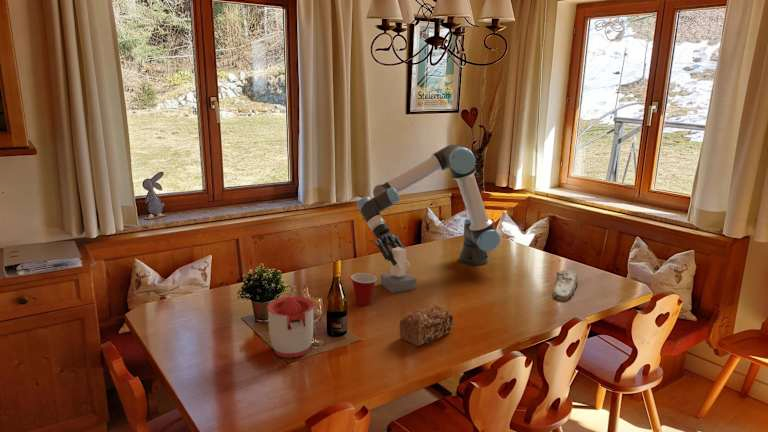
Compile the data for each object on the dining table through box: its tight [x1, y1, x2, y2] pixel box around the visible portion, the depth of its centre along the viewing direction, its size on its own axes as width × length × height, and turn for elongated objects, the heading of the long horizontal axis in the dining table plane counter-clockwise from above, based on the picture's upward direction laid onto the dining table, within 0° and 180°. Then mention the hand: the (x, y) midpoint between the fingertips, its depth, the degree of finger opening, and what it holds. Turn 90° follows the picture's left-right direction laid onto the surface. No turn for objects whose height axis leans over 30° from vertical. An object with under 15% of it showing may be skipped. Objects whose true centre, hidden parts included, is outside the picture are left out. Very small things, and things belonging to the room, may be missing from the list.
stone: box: [552, 269, 579, 302], centre depth 245 cm, size 35×5×10 cm
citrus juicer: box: [266, 296, 315, 359], centre depth 181 cm, size 16×17×20 cm
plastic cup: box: [350, 272, 378, 307], centre depth 223 cm, size 11×11×12 cm
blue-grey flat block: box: [380, 272, 417, 294], centre depth 243 cm, size 12×12×5 cm
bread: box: [398, 305, 453, 347], centre depth 196 cm, size 19×11×10 cm, turn 132°
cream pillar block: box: [390, 247, 408, 277], centre depth 241 cm, size 5×5×12 cm
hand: (404, 269), depth 239 cm, fingers closed on cream pillar block, 5 cm apart
